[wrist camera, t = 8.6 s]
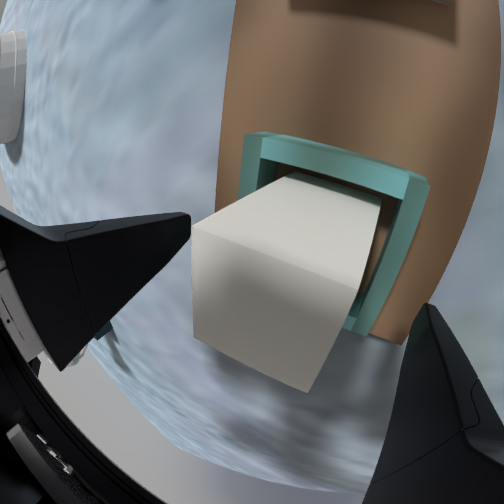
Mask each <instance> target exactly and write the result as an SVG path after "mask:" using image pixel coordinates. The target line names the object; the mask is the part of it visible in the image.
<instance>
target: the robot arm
mask: <svg viewBox="0 0 504 504" xmlns="http://www.w3.org/2000/svg"><path fill="white" fill-rule="evenodd" d="M190 236H191V217H190V215H189V214H186V213H183V212H174V213H163V214H153V215H143V216H134V217H125V218H117V219H108V220H102V221H92V222H84V223H75V224H65V225H55V226H37V225H34V224H32V223H30V222H28V221H26V220H24V219H23V218H21V217H19V216H17V215H16V214H14V213H12V212H10V211H9V210H7V209H5V208H4V207H2V206H0V504H167V503H166V502H164V501H163V500H161V499H160V498H158V497H157V496H156V495H154V494H153V493H151V492H150V491H149V490H147V489H146V488H145V487H143V486H142V485H141V484H139V483H138V482H137V481H135V480H134V479H133V478H132V477H130V476H129V475H128V474H127V473H126V472H124V471H123V470H122V469H121V468H119V467H118V466H117V465H116V464H115V463H114V462H112V461H111V460H110V459H109V458H108V457H107V456H106V455H105V454H104V453H103V452H102V451H101V450H100V449H99V448H97V447H96V446H95V445H94V444H93V443H92V442H91V441H90V440H89V439H88V438H87V437H86V435H85V434H84V433H83V432H82V431H81V430H80V429H79V428H78V427H77V426H76V425H75V424H74V423H73V422H72V420H71V419H70V418H69V417H68V416H67V415H66V414H65V412H64V411H63V410H62V409H61V408H60V406H59V405H58V404H57V403H56V402H55V400H54V399H53V398H52V396H51V395H50V394H49V393H48V391H47V390H46V389H45V387H44V386H43V385H42V383H41V382H40V380H39V379H38V374H39V369H40V364H41V362H40V360H39V359H38V357H37V355H38V354H40V353H41V352H42V351H44V352H45V353H46V355H47V356H48V357H49V358H50V360H51V361H52V362H53V363H54V365H55V366H56V367H57V368H58V370H59V371H62V370H63V369H65V368H66V366H67V365H68V364H69V363H70V362H71V361H72V360H73V359H74V358H75V357H76V356H77V354H78V353H79V352H80V351H81V350H82V349H83V348H84V347H85V346H86V345H87V344H88V343H89V342H90V341H91V340H92V338H93V337H94V336H95V334H97V333H98V332H99V331H100V330H101V329H102V328H103V327H104V326H105V325H106V324H107V323H108V322H109V321H110V320H111V319H112V318H113V317H114V316H115V315H116V314H117V313H118V312H119V311H120V310H121V309H122V308H123V307H124V306H125V305H126V304H127V303H128V302H129V301H130V300H131V299H132V298H133V297H134V296H135V295H136V294H137V293H138V292H139V291H140V290H141V289H142V288H143V287H144V286H145V285H146V284H147V283H148V282H149V281H150V280H151V279H152V278H153V277H154V276H155V275H156V274H157V273H158V272H159V271H161V270H162V269H163V268H164V267H165V266H166V265H167V264H168V262H169V261H170V260H171V259H172V258H173V257H174V256H175V255H176V253H177V252H178V251H179V250H180V249H181V248H182V247H183V245H184V244H185V243H186V242H187V241H188V240H189V238H190ZM477 378H478V376H477V374H476V372H475V370H474V369H473V367H472V365H471V363H470V361H469V360H468V358H467V356H466V354H465V353H464V351H463V349H462V347H461V346H460V344H459V342H458V341H457V339H456V337H455V336H454V334H453V333H452V331H451V329H450V328H449V326H448V325H447V323H446V322H445V320H444V318H443V317H442V315H441V314H440V312H439V311H438V309H437V308H436V307H435V306H434V305H431V304H429V303H424V304H423V305H422V307H421V309H420V310H419V312H418V314H417V316H416V317H415V319H414V321H413V323H412V325H411V329H410V333H409V337H408V342H407V346H406V350H405V353H404V357H403V361H402V365H401V370H400V376H399V381H398V386H397V391H396V396H395V401H394V405H393V410H392V414H391V418H390V422H389V426H388V430H387V433H386V437H385V441H384V444H383V447H382V451H381V454H380V457H379V460H378V463H377V466H376V469H375V472H374V475H373V477H372V480H371V483H370V485H369V488H368V490H367V493H366V495H365V497H364V500H363V502H362V504H504V425H503V423H502V421H501V419H500V417H499V416H498V414H497V412H496V410H495V408H494V406H493V405H492V403H491V401H490V399H489V397H488V395H487V393H486V391H485V390H484V388H483V386H482V384H481V382H480V380H479V379H477ZM37 434H38V435H39V436H40V437H41V438H42V439H43V440H44V441H45V442H46V444H44V443H43V442H42V441H41V440H40V439H39V438H38V437H37V436H36V435H37ZM49 451H53V452H54V453H55V454H56V455H57V456H56V458H57V459H58V460H59V461H58V460H57V459H56V458H55V457H53V456H52V455H51V454H50V453H49ZM62 463H63V464H64V465H65V466H67V470H68V471H69V474H68V473H67V472H65V471H64V470H63V469H64V468H65V467H64V465H63V464H62Z"/></svg>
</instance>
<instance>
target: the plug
mask: <svg viewBox="0 0 504 504" xmlns="http://www.w3.org/2000/svg"><path fill="white" fill-rule="evenodd" d="M381 202H382V198H379V197H377V196H374V195H371V194H368V193H365V192H362V191H359V190H356V189H353V188H350V187H347V186H344V185H340V184H337V183H334V182H331V181H327V180H324V179H321V178H317V177H314V176H310V175H307V174H303V173H300V172H296V171H294V172H292V173H290V174H288V175H286V176H284V177H282V178H280V179H278V180H276V181H274V182H272V183H270V184H268V185H267V186H265V187H263V188H261V189H259V190H257V191H255V192H253V193H251V194H249V195H247V196H245V197H244V198H242V199H240V200H238V201H236V202H234V203H232V204H231V205H229V206H227V207H225V208H223V209H221V210H220V211H218V212H216V213H214V214H212V215H210V216H209V217H207V218H205V219H203V220H201V221H200V222H198V223H196V224H194V225H193V226H192V306H193V331H194V337H195V338H196V339H198V340H200V341H202V342H203V343H205V344H207V345H209V346H211V347H212V348H214V349H216V350H218V351H220V352H222V353H223V354H225V355H227V356H229V357H231V358H233V359H235V360H237V361H239V362H241V363H243V364H245V365H247V366H249V367H251V368H253V369H255V370H257V371H259V372H261V373H263V374H265V375H267V376H269V377H271V378H274V379H276V380H278V381H280V382H282V383H284V384H287V385H289V386H291V387H293V388H296V389H298V390H300V391H303V392H305V393H307V394H308V392H309V390H310V388H311V387H312V385H313V383H314V381H315V379H316V378H317V376H318V374H319V372H320V370H321V368H322V366H323V364H324V362H325V361H326V359H327V357H328V355H329V353H330V351H331V349H332V347H333V345H334V343H335V341H336V339H337V336H338V334H339V332H340V330H341V328H342V326H343V324H344V322H345V319H346V317H347V315H348V313H349V310H350V308H351V306H352V304H353V301H354V299H355V297H356V294H357V292H358V289H359V286H360V283H361V280H362V276H363V273H364V269H365V266H366V262H367V259H368V255H369V252H370V248H371V244H372V240H373V236H374V232H375V228H376V224H377V220H378V215H379V211H380V206H381Z"/></svg>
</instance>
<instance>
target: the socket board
mask: <svg viewBox="0 0 504 504" xmlns="http://www.w3.org/2000/svg"><path fill="white" fill-rule="evenodd" d="M500 64H501V29H500V13H499V3H498V0H236V7H235V13H234V20H233V27H232V34H231V42H230V50H229V58H228V66H227V74H226V83H225V92H224V102H223V112H222V122H221V133H220V145H219V157H218V170H217V184H216V200H215V213H216V212H218V211H220V210H221V209H223V208H225V207H227V206H229V205H231V204H232V203H234V202H236V201H238V200H240V199H242V198H244V197H245V196H247V195H249V194H251V193H253V192H255V191H257V190H259V189H261V188H263V187H265V186H267V185H268V184H270V183H272V182H274V181H276V180H278V179H280V178H282V177H284V176H286V175H288V174H290V173H292V172H294V171H296V172H300V173H303V174H307V175H310V176H314V177H317V178H321V179H324V180H327V181H331V182H334V183H337V184H340V185H344V186H347V187H350V188H353V189H356V190H359V191H362V192H365V193H368V194H371V195H374V196H377V197H379V198H382V202H381V206H380V211H379V215H378V220H377V224H376V228H375V232H374V236H373V240H372V244H371V248H370V252H369V255H368V259H367V262H366V266H365V269H364V273H363V276H362V280H361V283H360V286H359V289H358V292H357V294H356V297H355V299H354V301H353V304H352V306H351V308H350V310H349V313H348V315H347V317H346V319H345V322H344V324H343V326H342V328H344V329H347V330H349V331H352V332H354V333H357V334H359V335H362V336H365V337H366V336H367V335H368V333H370V334H373V335H375V336H378V337H381V338H383V339H386V340H389V341H391V342H394V343H397V344H399V345H402V344H403V342H404V341H405V339H406V338H407V336H408V335H409V333H410V329H411V325H412V323H413V321H414V319H415V317H416V316H417V314H418V312H419V310H420V309H421V307H422V305H423V304H424V303H428V302H429V300H430V298H431V296H432V294H433V293H434V291H435V289H436V287H437V285H438V283H439V281H440V279H441V277H442V275H443V273H444V271H445V269H446V267H447V265H448V263H449V261H450V259H451V257H452V254H453V252H454V250H455V248H456V245H457V243H458V241H459V238H460V236H461V234H462V231H463V229H464V226H465V223H466V221H467V218H468V216H469V213H470V210H471V207H472V204H473V202H474V199H475V196H476V193H477V189H478V186H479V183H480V180H481V176H482V173H483V169H484V166H485V162H486V158H487V154H488V150H489V145H490V141H491V136H492V131H493V125H494V120H495V114H496V107H497V99H498V91H499V80H500Z"/></svg>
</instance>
